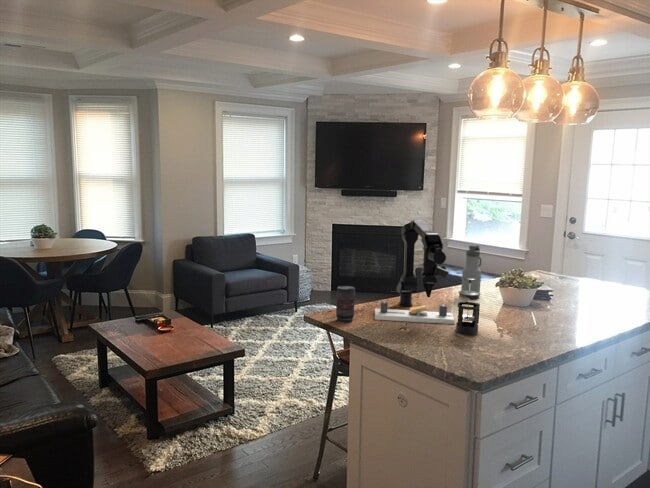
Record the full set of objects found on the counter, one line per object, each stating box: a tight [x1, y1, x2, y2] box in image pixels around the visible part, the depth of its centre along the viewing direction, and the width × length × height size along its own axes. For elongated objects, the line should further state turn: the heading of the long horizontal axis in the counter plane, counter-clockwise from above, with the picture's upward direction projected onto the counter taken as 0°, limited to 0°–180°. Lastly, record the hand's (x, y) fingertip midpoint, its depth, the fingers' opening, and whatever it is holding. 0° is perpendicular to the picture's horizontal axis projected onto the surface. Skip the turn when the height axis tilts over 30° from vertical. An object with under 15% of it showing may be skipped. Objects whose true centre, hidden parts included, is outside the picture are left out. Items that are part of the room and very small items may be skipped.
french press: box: [454, 278, 481, 336], centre depth 228 cm, size 12×9×23 cm
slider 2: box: [438, 304, 448, 316], centre depth 247 cm, size 3×3×4 cm
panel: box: [374, 308, 455, 325], centre depth 248 cm, size 12×35×4 cm, turn 84°
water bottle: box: [460, 244, 482, 299], centre depth 295 cm, size 10×10×28 cm
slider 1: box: [380, 301, 389, 312], centre depth 249 cm, size 3×3×4 cm
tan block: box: [409, 304, 428, 314], centre depth 248 cm, size 5×7×2 cm
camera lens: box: [335, 285, 356, 324], centre depth 240 cm, size 8×8×15 cm
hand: (428, 295), depth 246 cm, fingers open, 9 cm apart
